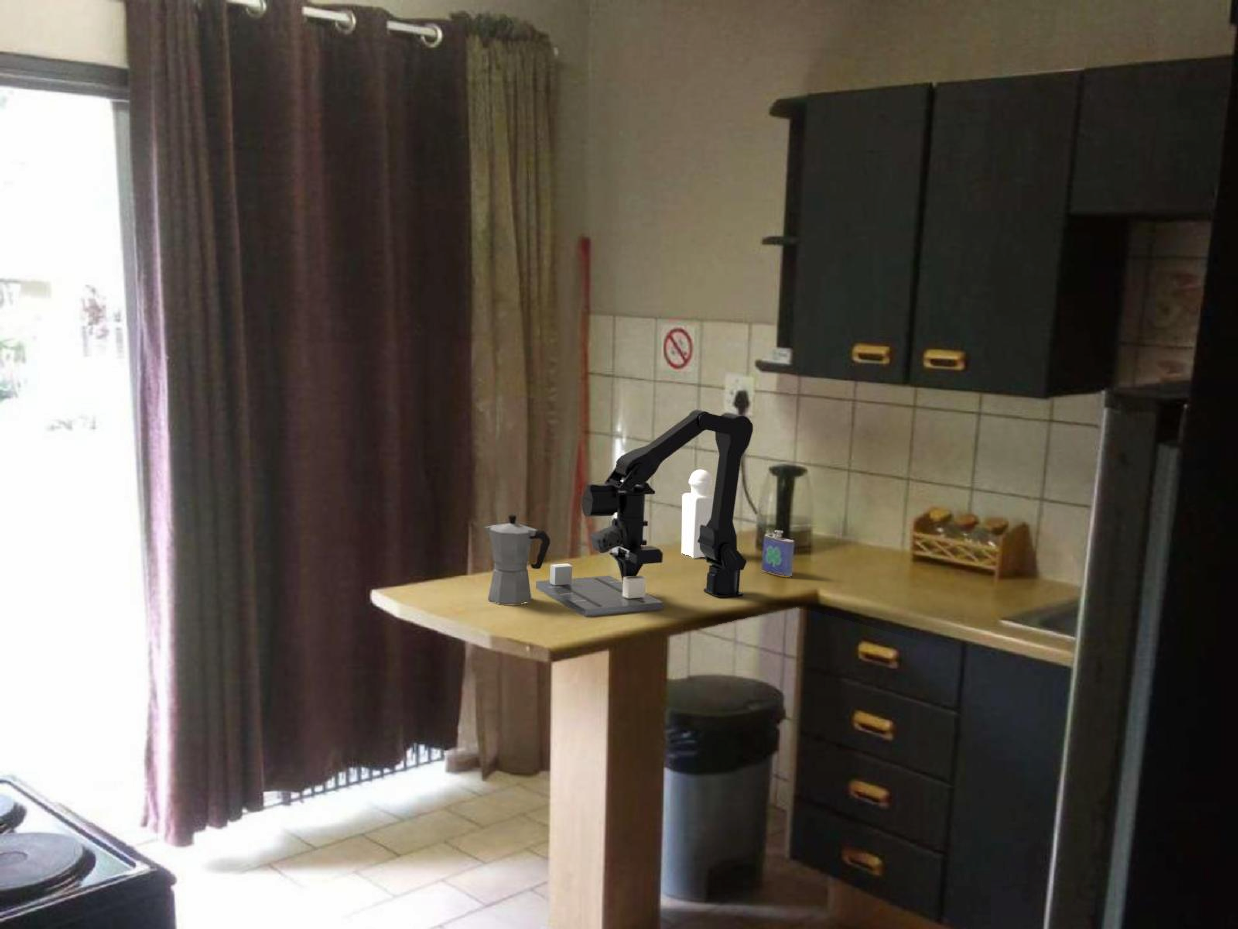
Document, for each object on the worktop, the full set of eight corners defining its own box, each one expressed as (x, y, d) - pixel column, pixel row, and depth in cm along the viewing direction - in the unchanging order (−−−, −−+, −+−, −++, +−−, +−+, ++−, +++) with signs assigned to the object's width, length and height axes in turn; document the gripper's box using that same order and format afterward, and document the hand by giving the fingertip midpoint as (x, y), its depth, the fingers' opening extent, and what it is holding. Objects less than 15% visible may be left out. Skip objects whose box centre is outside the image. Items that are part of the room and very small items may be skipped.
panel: (608, 582, 257) (609, 575, 257) (663, 609, 237) (663, 601, 236) (535, 588, 249) (536, 580, 249) (585, 616, 228) (585, 608, 228)
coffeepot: (470, 599, 237) (473, 514, 234) (493, 590, 245) (496, 507, 243) (536, 611, 230) (539, 523, 228) (557, 601, 239) (561, 516, 237)
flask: (794, 577, 271) (797, 533, 269) (785, 579, 269) (788, 534, 267) (766, 569, 278) (769, 526, 276) (757, 571, 276) (760, 527, 275)
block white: (566, 581, 249) (567, 563, 249) (571, 584, 247) (572, 565, 246) (549, 582, 247) (550, 564, 247) (554, 585, 245) (555, 566, 244)
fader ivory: (639, 594, 241) (640, 575, 241) (644, 597, 239) (645, 577, 239) (622, 595, 239) (623, 576, 239) (628, 598, 237) (629, 579, 237)
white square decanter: (692, 559, 285) (697, 472, 282) (678, 553, 291) (683, 468, 288) (714, 557, 288) (719, 471, 285) (699, 552, 294) (704, 467, 291)
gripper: (576, 508, 244) (573, 580, 246) (617, 525, 228) (614, 602, 230) (622, 506, 249) (618, 576, 251) (666, 522, 233) (661, 597, 235)
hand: (626, 587), depth 242 cm, fingers closed
